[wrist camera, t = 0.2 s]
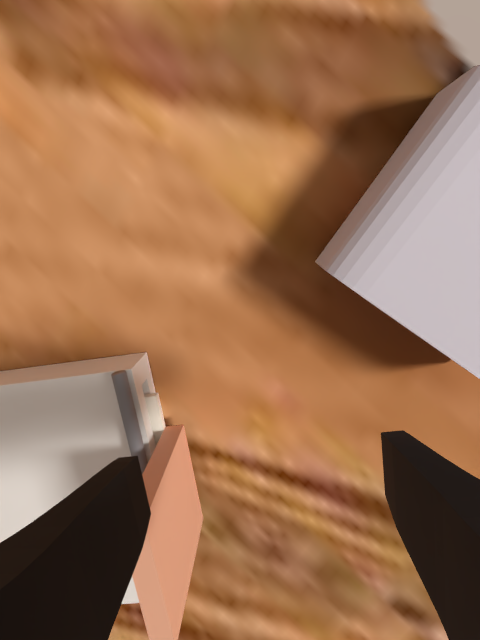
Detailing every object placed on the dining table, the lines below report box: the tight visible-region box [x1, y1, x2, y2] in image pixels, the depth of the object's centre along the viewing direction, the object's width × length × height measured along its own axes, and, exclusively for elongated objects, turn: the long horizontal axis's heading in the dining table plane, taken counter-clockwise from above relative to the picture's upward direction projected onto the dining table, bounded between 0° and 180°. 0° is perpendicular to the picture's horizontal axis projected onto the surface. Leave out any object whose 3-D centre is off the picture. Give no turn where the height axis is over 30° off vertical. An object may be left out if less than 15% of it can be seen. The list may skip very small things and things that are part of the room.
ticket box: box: [0, 352, 156, 604], centre depth 22 cm, size 12×14×3 cm
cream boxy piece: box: [132, 393, 203, 640], centre depth 19 cm, size 12×10×7 cm
